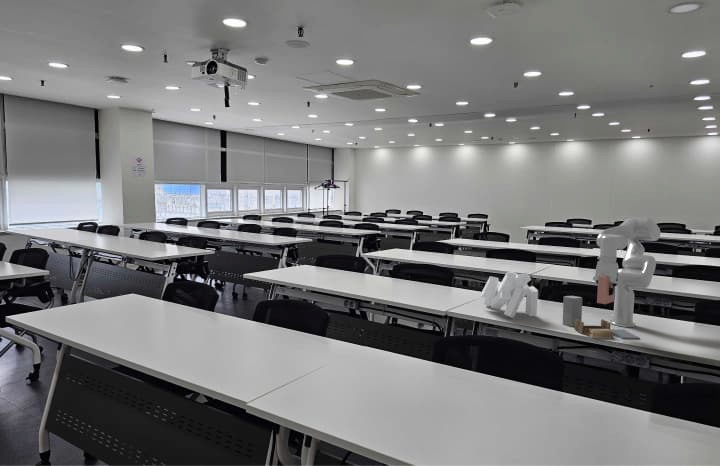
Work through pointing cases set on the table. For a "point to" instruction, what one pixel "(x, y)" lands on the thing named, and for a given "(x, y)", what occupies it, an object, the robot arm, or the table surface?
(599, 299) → the pink block
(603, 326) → the rack
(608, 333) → the offcut stack
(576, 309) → the skincare box
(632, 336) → the slate mat
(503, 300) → the pile of blocks
